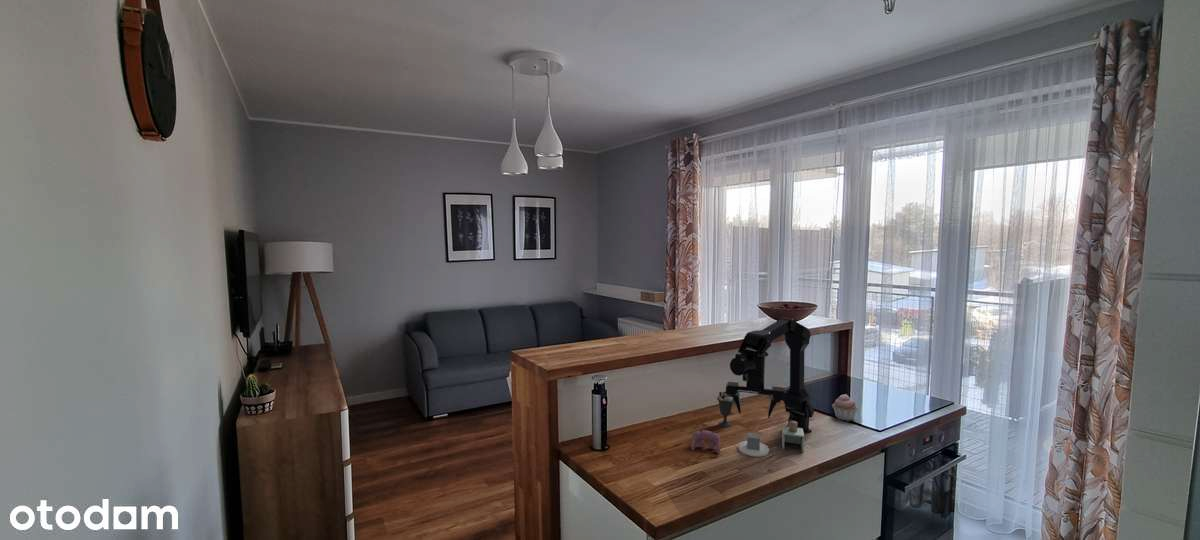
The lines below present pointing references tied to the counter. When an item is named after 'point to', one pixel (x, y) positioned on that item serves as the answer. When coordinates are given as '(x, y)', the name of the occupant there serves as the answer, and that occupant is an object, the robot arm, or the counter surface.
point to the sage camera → (793, 434)
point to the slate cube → (753, 441)
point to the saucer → (755, 453)
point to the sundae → (725, 407)
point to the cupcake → (845, 408)
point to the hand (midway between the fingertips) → (754, 415)
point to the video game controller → (706, 435)
